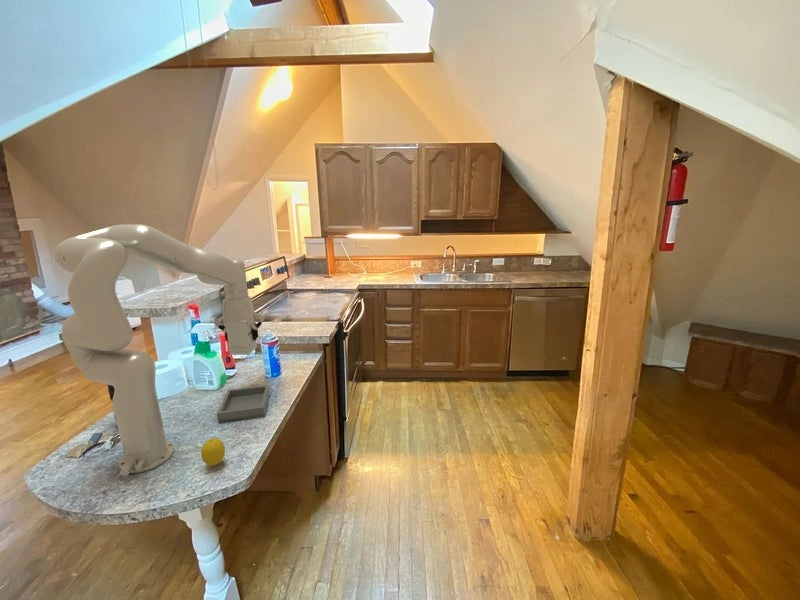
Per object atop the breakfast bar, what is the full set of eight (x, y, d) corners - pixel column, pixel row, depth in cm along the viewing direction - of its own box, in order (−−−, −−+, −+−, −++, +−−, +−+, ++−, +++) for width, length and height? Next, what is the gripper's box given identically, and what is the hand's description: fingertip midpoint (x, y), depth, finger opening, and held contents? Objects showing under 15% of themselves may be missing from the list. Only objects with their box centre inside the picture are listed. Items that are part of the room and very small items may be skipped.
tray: (264, 416, 118) (263, 407, 117) (218, 423, 115) (216, 413, 114) (269, 393, 133) (268, 384, 132) (229, 398, 130) (227, 389, 129)
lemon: (201, 474, 92) (196, 447, 90) (206, 460, 98) (201, 434, 96) (225, 469, 94) (220, 443, 92) (228, 456, 99) (224, 430, 97)
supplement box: (249, 355, 129) (245, 321, 126) (229, 355, 129) (224, 321, 126) (257, 347, 136) (254, 315, 133) (238, 347, 136) (234, 315, 133)
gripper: (207, 298, 122) (214, 346, 126) (261, 295, 126) (266, 341, 130) (212, 293, 129) (219, 339, 133) (263, 290, 133) (268, 335, 137)
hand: (242, 340), depth 131 cm, fingers closed on supplement box, 8 cm apart
